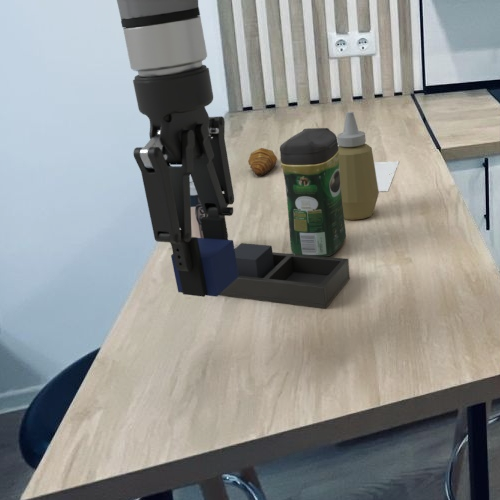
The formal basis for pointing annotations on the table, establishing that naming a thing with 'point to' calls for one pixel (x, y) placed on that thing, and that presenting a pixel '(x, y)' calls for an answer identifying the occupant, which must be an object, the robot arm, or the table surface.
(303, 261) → the divided tray
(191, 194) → the beer can
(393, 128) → the table surface
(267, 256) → the charcoal cube
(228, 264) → the navy blue cube
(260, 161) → the croissant
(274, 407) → the table surface
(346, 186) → the squeeze bottle
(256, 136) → the table surface
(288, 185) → the coffee jar
